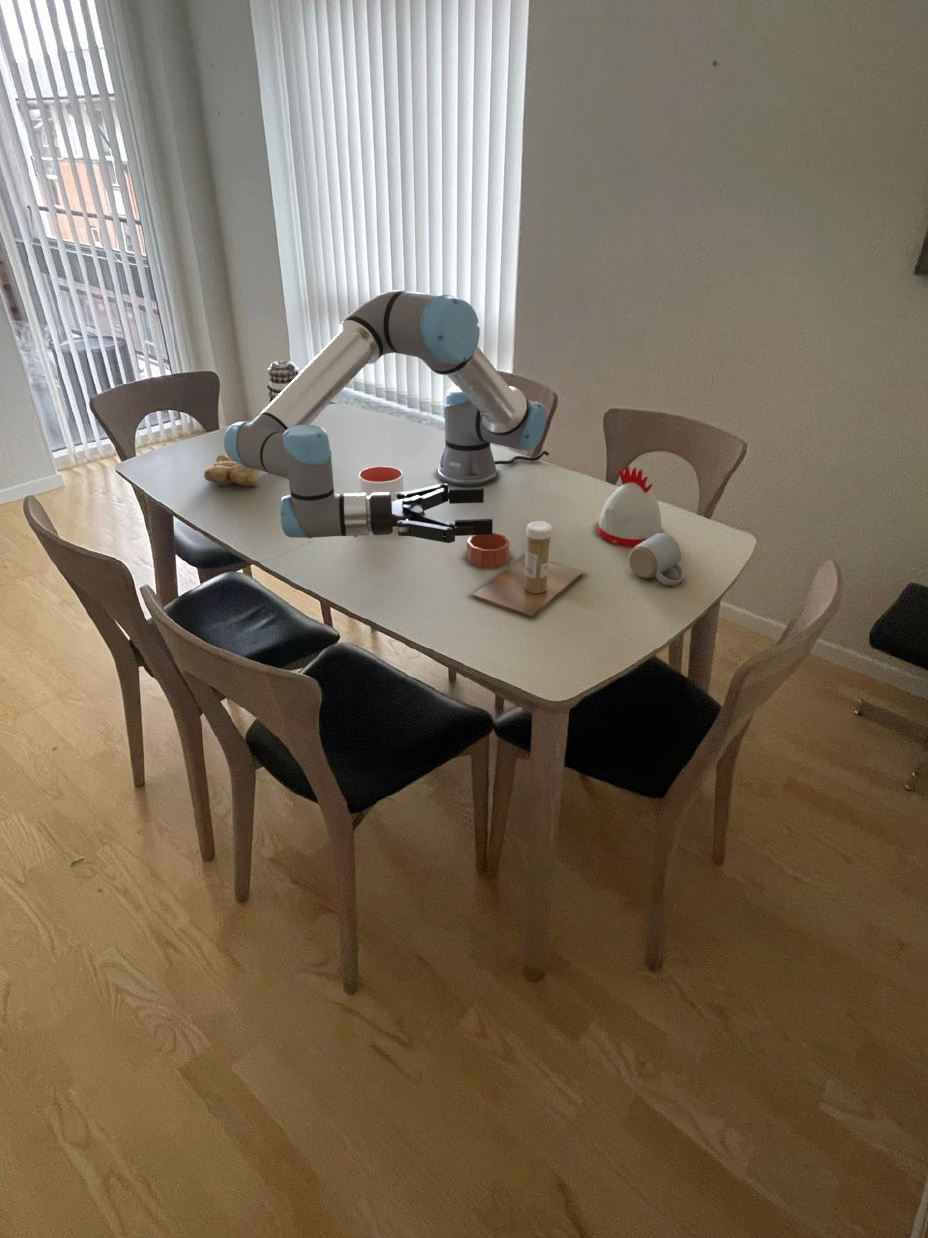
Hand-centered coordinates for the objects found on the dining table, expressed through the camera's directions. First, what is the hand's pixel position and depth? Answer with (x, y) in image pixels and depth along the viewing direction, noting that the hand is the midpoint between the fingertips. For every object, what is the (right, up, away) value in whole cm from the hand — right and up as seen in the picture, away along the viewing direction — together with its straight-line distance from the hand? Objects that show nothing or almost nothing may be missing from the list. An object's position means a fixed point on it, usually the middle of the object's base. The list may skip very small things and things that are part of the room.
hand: (488, 510), depth 134 cm
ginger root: (-63, +15, +55) cm, 85 cm away
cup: (-23, +5, +40) cm, 46 cm away
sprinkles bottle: (+10, -14, +10) cm, 20 cm away
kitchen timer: (+33, 0, +33) cm, 46 cm away
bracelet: (+1, -7, +21) cm, 23 cm away
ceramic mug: (+35, -11, +16) cm, 40 cm away
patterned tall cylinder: (-52, +26, +73) cm, 93 cm away
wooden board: (+8, -13, +12) cm, 20 cm away
